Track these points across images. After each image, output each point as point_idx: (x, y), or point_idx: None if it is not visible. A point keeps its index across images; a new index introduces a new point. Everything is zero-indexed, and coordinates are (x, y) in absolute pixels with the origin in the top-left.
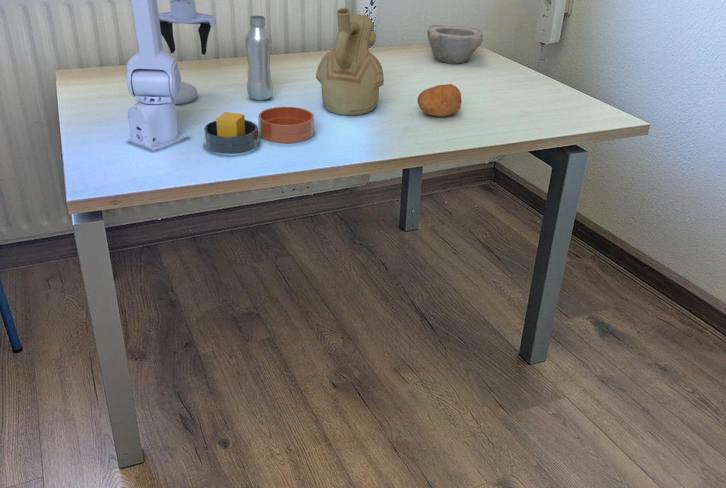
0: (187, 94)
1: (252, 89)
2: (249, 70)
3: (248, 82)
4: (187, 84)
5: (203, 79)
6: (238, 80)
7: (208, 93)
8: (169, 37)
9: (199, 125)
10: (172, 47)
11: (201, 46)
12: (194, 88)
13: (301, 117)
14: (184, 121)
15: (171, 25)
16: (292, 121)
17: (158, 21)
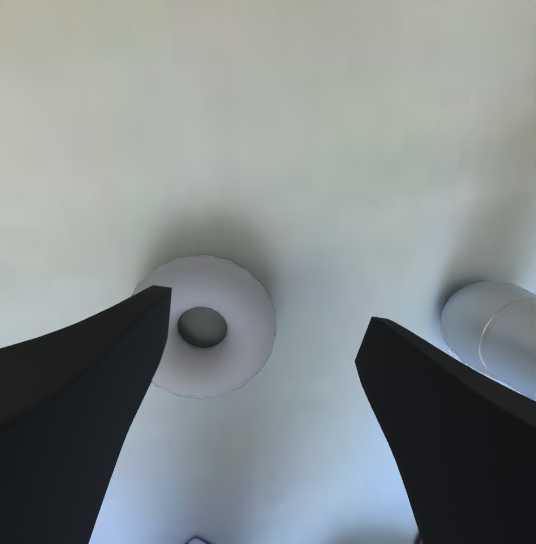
0: (247, 381)
1: (470, 365)
2: (526, 384)
3: (477, 356)
4: (244, 314)
5: (292, 59)
6: (433, 89)
7: (310, 254)
8: (109, 477)
9: (282, 505)
10: (154, 365)
11: (380, 421)
12: (271, 335)
13: None
14: (243, 483)
15: (54, 460)
16: None
17: None
